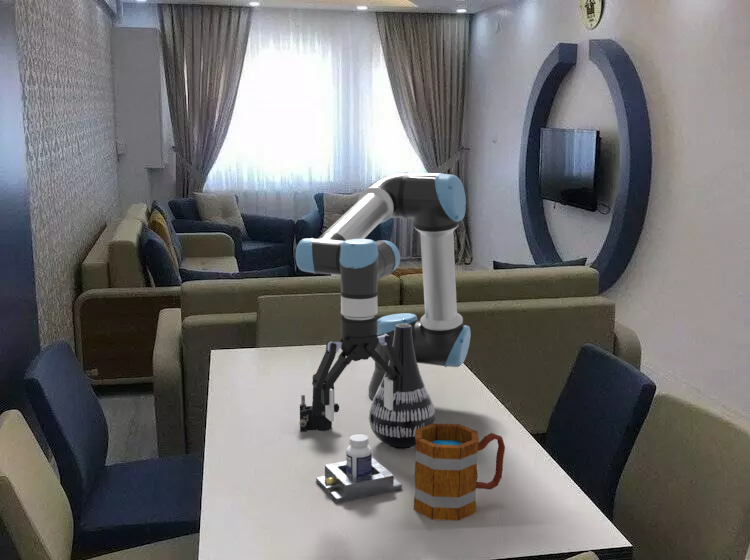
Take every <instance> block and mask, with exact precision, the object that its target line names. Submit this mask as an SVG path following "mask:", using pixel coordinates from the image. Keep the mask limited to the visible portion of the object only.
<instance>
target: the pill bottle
mask: <svg viewBox="0 0 750 560" xmlns="http://www.w3.org/2000/svg"><path fill="white" fill-rule="evenodd" d="M372 450H373V449H372V448H371V446H370V445H369V437H368V435H366V434H362V433H361V434H359V433H358V434H357V433H356V434H353V435H351V436H350V437H349V446H347V448H346V453H345V454H346V455H345V456H346V457H345V458H346V460H345V461H346V467H347V477H348V478H349V479H356V478H361V477H366V476H370V475H372V458H373V456H372V455H373V453H372V452H373V451H372Z"/></svg>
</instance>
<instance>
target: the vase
mask: <svg viewBox="0 0 750 560" xmlns="http://www.w3.org/2000/svg"><path fill="white" fill-rule="evenodd" d="M392 346H393V348H394V350H395V352H396V354H397V357H398V359H399V361H400V363H401V365H402V367H403V369H404V371H405V374H404V375H403V376H399V380H398V381H396V393H394V394H393V410H388V409H387V408H386V407H384V377H388V375H387V374H386V373H385V375H384V377H383V380H382V382H381V384H380V386H379V388H378V390H377V392H376V394H375V396H374V398H373V399H372V401H371V404H370V407H369V411H368V412H369V413H368V422H369V426H370V429H371V430H372V433H373V434H374V436H376V438H377V439H378V440H380V441H381V442H383V443H384V444H386V445H388V446H389V447H391V448H392V449H396V450H407V449H411V448H413V447H416V443H415V432H416V429H418V428H421V427H424V426H427V425H430V424H433V423H436V412H435V407H434V403H433V400H432V398H431V395H430V393H429V391H428V390H427V387H426V385H425V383H424V382H425V381H424V380H423V378H422V375H421V371H420V369H419V364H418V363H417V360H416V356H415V350H414V344H413V336H412V326H411V325H410V324H397V325H395V332H394V339H393V345H392ZM388 366H389V367H390V368H391V369H392V370H394V368H393V366H392V364H391V362H390V360H389V363H388Z"/></svg>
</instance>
